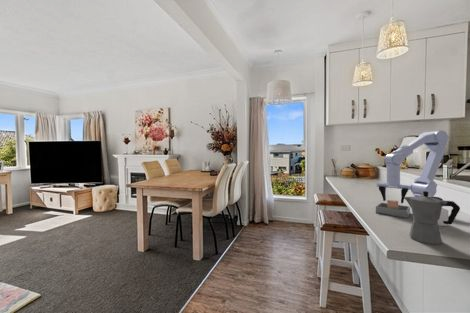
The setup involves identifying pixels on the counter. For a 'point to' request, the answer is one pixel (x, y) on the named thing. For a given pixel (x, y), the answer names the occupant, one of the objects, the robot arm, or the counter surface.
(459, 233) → the counter surface
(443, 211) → the pale grey tall block
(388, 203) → the peach rounded cylinder
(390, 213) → the bin
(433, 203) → the coffeepot
